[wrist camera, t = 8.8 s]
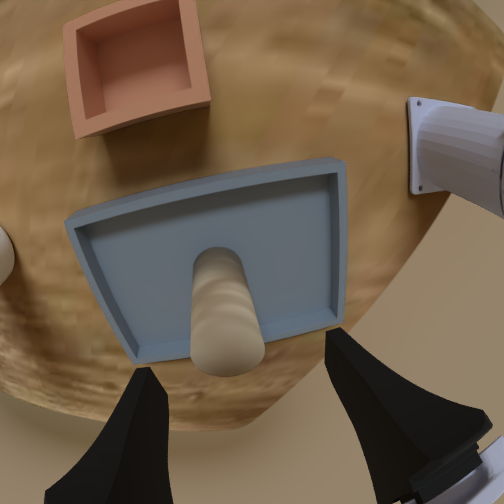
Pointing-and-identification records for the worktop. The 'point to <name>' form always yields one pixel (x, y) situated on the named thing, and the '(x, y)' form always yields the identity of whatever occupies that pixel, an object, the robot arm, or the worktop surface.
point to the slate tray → (219, 235)
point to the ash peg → (223, 316)
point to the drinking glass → (5, 256)
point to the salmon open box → (133, 64)
